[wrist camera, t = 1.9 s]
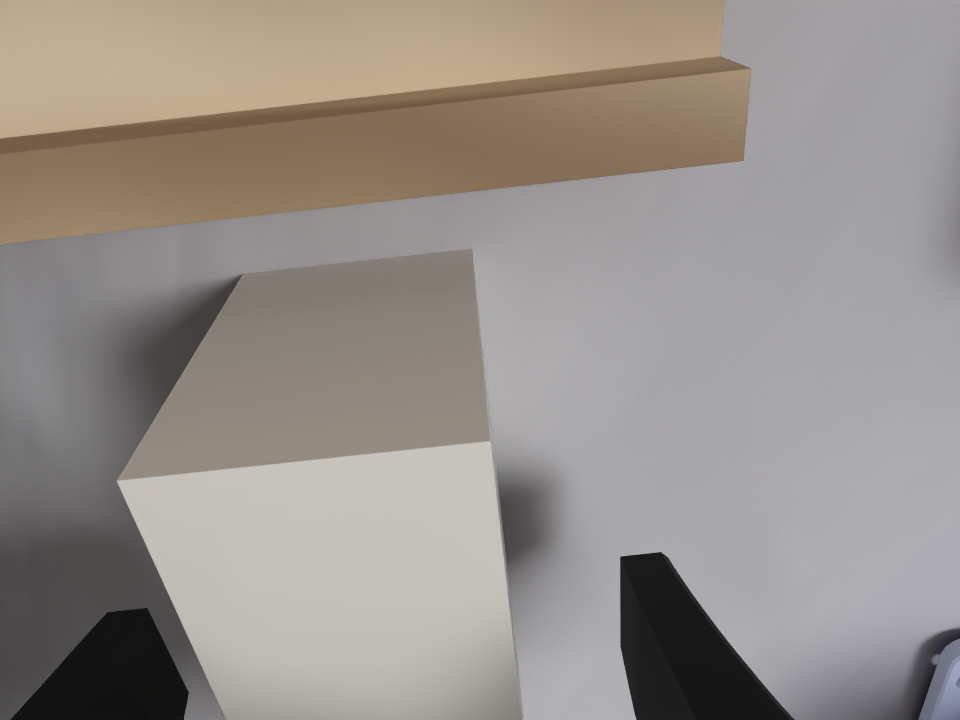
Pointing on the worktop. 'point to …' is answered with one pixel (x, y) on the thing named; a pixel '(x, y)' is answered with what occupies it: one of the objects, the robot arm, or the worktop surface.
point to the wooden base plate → (343, 103)
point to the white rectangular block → (337, 498)
